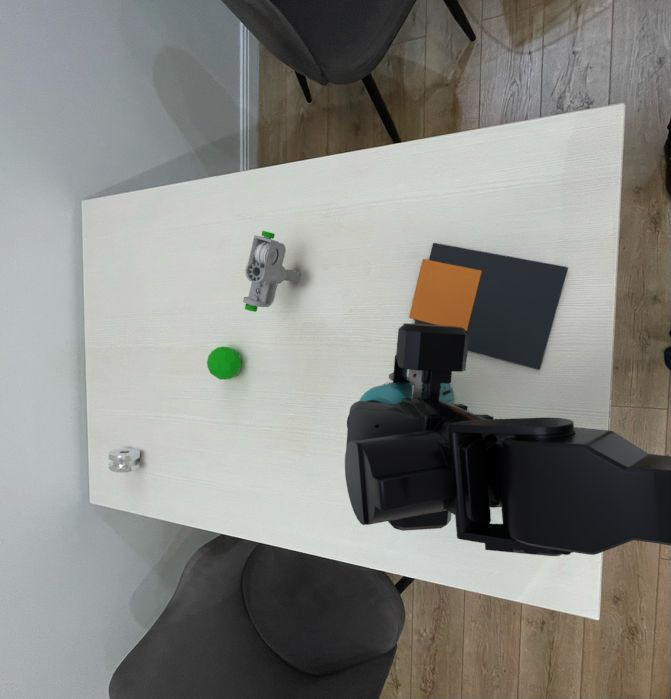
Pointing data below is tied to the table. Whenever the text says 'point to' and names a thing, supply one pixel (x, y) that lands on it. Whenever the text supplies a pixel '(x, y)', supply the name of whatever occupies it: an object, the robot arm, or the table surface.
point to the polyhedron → (224, 363)
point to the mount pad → (490, 301)
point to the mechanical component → (266, 271)
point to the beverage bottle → (401, 393)
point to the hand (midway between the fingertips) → (390, 406)
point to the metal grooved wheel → (124, 460)
